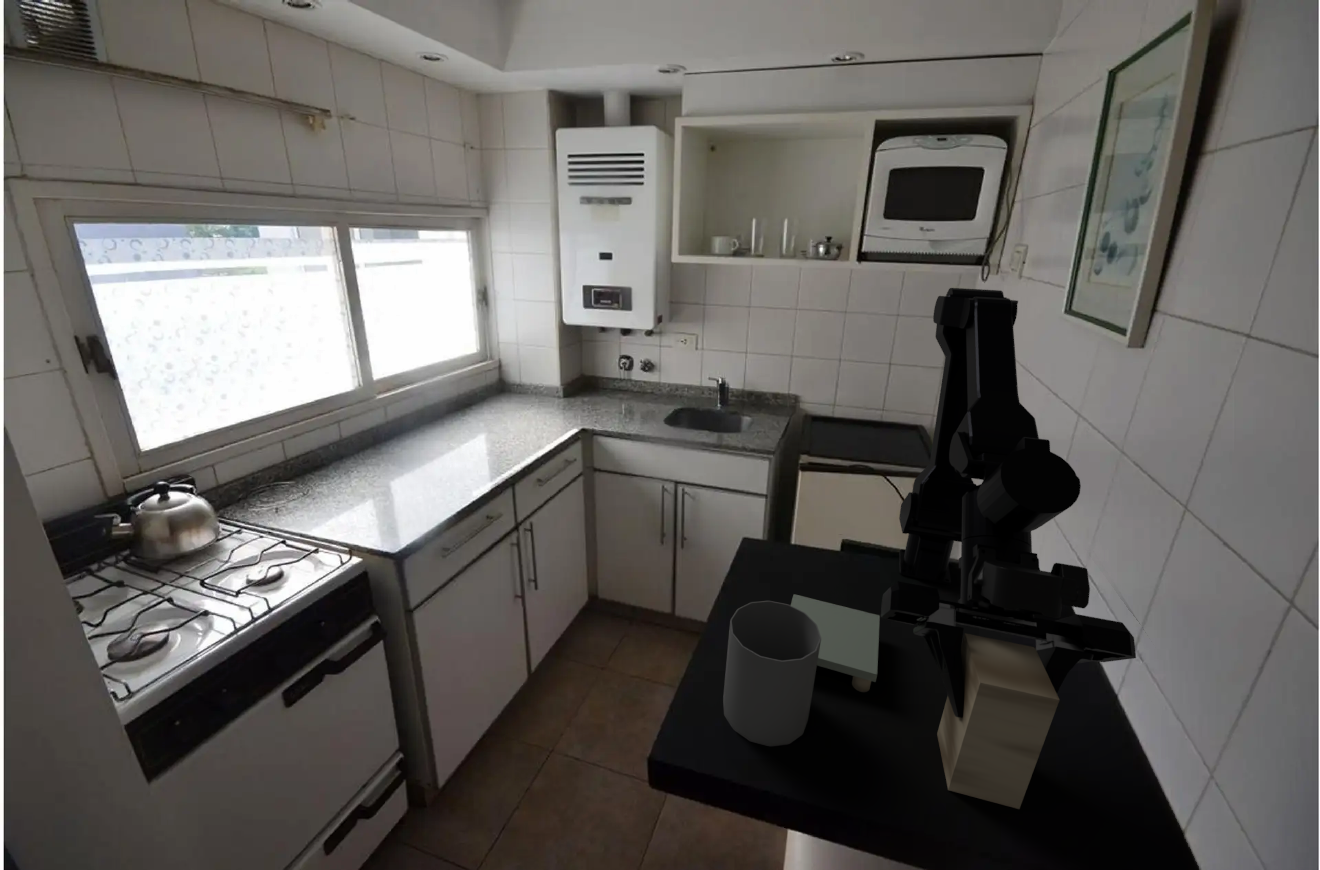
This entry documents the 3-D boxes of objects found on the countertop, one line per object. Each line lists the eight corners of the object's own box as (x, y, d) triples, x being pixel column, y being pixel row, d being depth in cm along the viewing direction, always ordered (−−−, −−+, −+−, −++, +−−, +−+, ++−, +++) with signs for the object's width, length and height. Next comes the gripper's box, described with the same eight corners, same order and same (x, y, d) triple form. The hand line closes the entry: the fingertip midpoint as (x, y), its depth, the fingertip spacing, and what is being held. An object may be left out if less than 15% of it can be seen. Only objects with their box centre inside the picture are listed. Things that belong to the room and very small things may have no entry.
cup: (715, 732, 53) (723, 648, 50) (729, 670, 61) (736, 594, 57) (806, 755, 51) (820, 670, 48) (809, 688, 59) (821, 610, 55)
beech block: (937, 733, 54) (964, 633, 50) (1000, 749, 52) (1034, 647, 48) (948, 789, 48) (980, 682, 44) (1019, 809, 47) (1059, 699, 43)
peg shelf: (790, 614, 70) (793, 594, 69) (875, 636, 67) (879, 615, 66) (776, 668, 61) (778, 646, 60) (872, 697, 58) (877, 674, 57)
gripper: (908, 502, 48) (897, 697, 42) (1165, 541, 43) (1195, 767, 37) (885, 537, 58) (873, 698, 52) (1093, 571, 53) (1107, 754, 47)
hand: (997, 726), depth 47 cm, fingers closed on beech block, 5 cm apart
